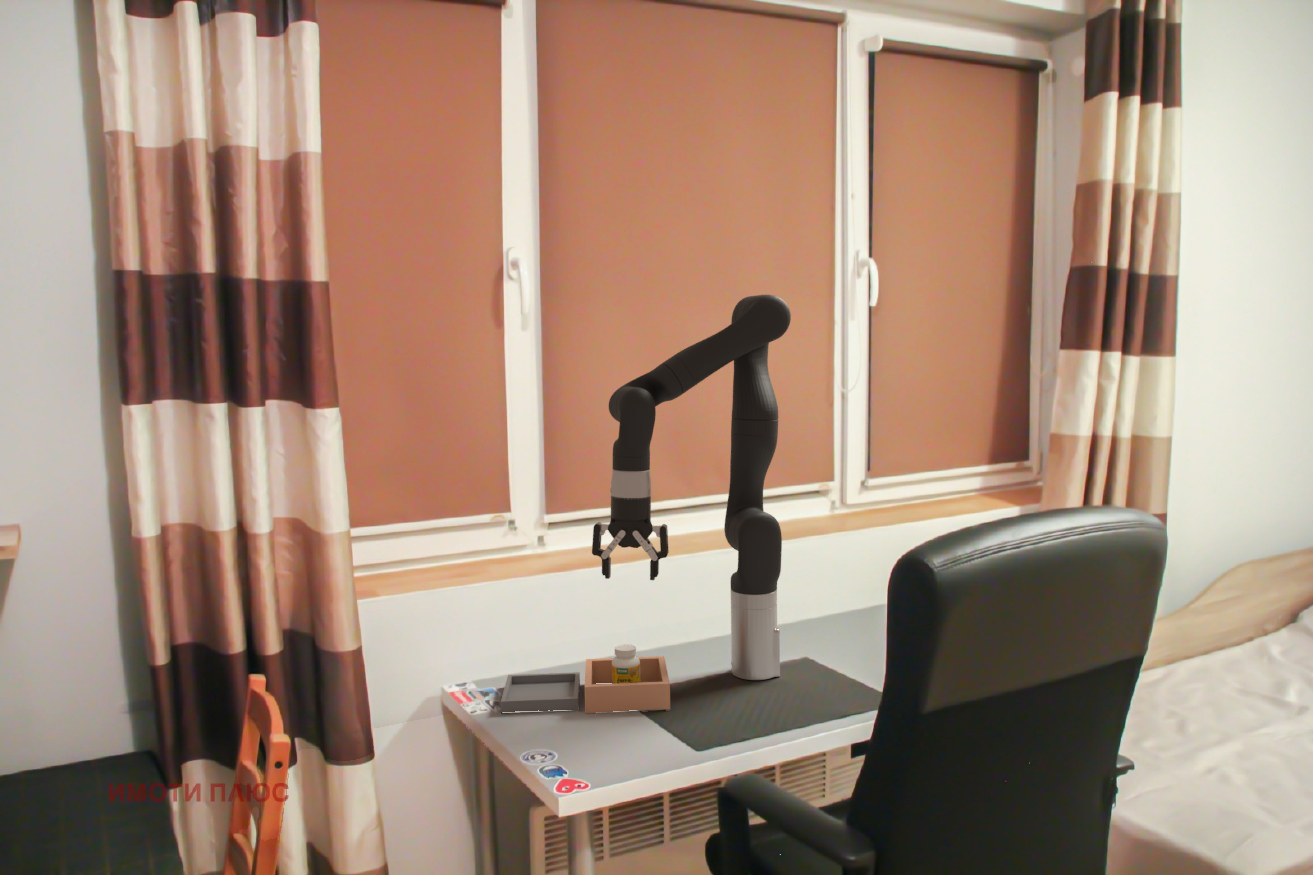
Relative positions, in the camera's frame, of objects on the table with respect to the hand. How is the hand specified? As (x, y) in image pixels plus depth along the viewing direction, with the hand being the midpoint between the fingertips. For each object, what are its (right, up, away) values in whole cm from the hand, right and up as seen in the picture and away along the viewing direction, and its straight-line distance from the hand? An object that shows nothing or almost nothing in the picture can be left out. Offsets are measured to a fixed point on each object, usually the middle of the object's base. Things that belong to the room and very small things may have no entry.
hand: (630, 578), depth 181 cm
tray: (-17, -23, 0) cm, 28 cm away
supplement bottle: (-1, -23, 0) cm, 23 cm away
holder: (-1, -22, 0) cm, 22 cm away
